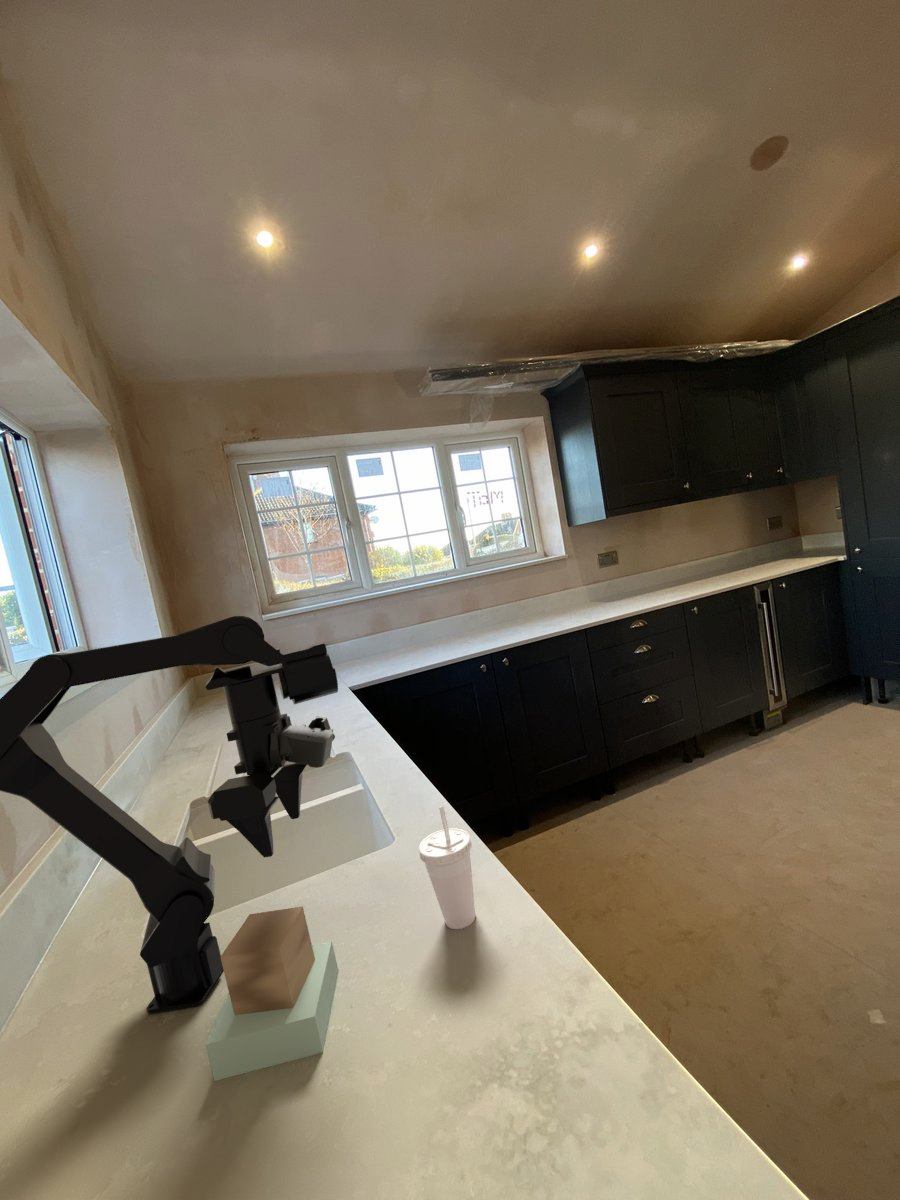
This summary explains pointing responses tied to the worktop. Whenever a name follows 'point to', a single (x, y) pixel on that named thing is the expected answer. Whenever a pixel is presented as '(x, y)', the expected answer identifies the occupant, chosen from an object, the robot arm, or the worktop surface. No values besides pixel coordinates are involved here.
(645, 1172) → the worktop surface
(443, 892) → the smoothie
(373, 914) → the worktop surface
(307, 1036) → the sage box
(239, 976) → the walnut cube
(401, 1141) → the worktop surface
